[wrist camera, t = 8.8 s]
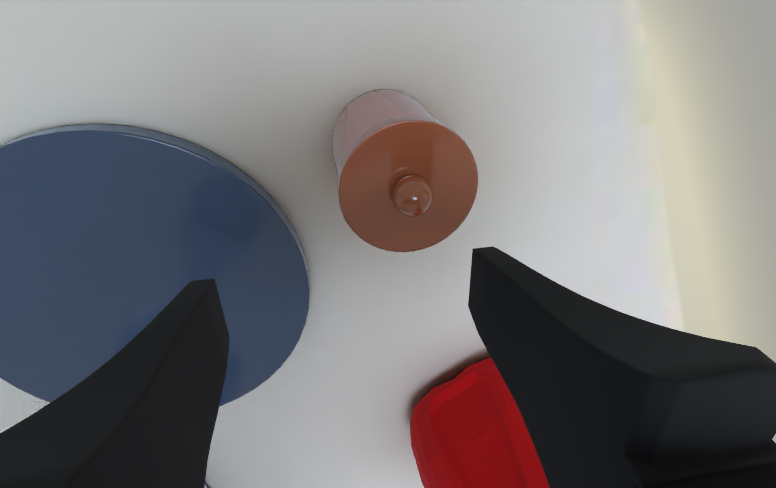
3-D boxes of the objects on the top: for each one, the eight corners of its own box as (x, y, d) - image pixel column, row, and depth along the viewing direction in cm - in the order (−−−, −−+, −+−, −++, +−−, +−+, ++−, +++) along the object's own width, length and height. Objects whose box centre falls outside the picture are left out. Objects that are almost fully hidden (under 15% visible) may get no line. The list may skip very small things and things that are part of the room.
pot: (443, 177, 22) (495, 247, 16) (344, 203, 22) (361, 283, 16) (427, 72, 19) (482, 111, 14) (315, 101, 19) (322, 152, 13)
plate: (343, 360, 27) (344, 372, 26) (69, 436, 26) (61, 451, 25) (243, 80, 18) (240, 85, 17) (-165, 180, 18) (-189, 190, 17)
